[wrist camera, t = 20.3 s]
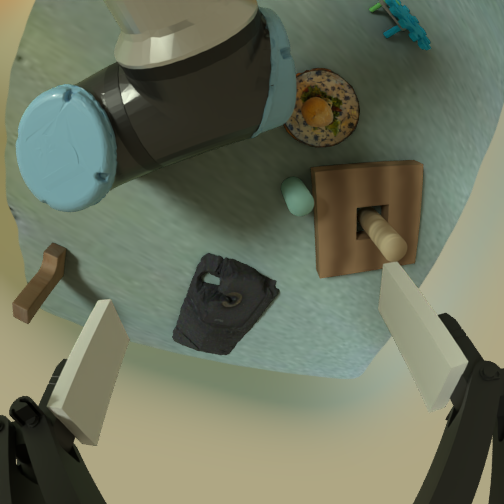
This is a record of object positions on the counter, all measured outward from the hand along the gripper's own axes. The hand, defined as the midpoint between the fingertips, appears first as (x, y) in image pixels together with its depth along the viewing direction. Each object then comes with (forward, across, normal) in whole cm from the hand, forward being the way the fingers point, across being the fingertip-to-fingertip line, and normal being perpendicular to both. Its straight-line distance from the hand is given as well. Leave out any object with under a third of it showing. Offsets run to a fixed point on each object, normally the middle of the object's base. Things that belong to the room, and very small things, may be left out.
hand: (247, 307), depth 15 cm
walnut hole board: (+35, +19, -12) cm, 41 cm away
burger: (+35, +12, +6) cm, 38 cm away
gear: (+35, +26, +20) cm, 48 cm away
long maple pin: (+35, +19, -12) cm, 41 cm away
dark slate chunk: (+35, -8, -27) cm, 45 cm away
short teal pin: (+35, +7, -6) cm, 36 cm away
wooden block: (+35, -37, -12) cm, 52 cm away
